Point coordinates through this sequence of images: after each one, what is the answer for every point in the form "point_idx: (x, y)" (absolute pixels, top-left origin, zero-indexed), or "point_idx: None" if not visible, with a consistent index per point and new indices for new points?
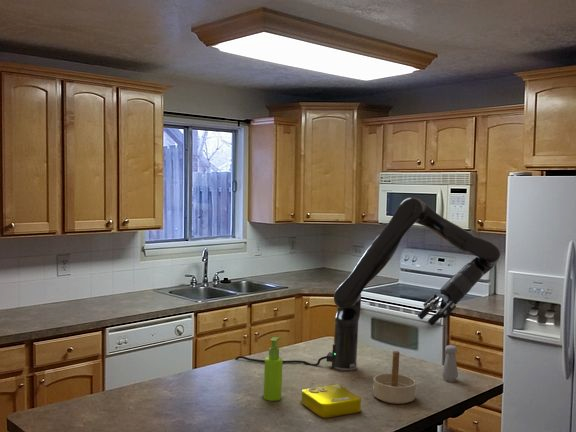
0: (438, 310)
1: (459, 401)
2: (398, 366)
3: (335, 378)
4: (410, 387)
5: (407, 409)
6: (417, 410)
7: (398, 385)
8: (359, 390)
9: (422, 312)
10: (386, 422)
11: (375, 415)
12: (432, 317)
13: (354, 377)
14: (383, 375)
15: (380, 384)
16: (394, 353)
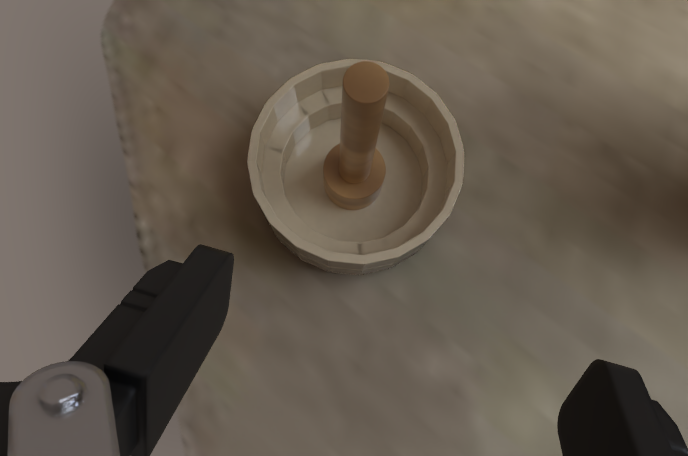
0: (41, 450)
1: (187, 448)
2: (342, 133)
3: (644, 89)
4: (250, 174)
5: (219, 153)
6: (192, 184)
7: (359, 195)
8: (476, 100)
9: (619, 446)
10: (157, 8)
11: (226, 10)
12: (159, 298)
13: (636, 174)
14: (453, 162)
15: (334, 61)
16: (357, 65)
